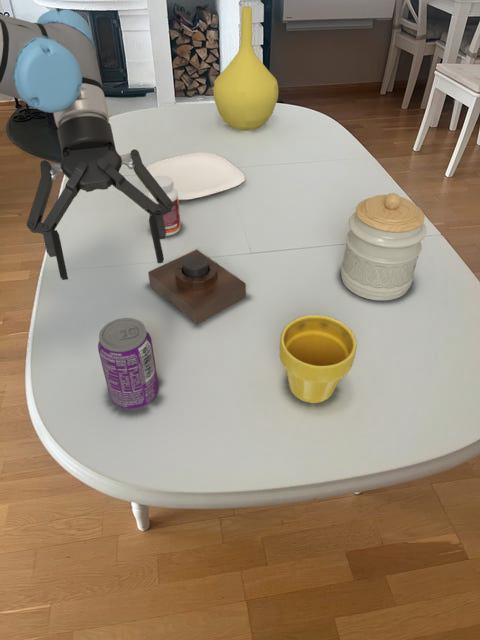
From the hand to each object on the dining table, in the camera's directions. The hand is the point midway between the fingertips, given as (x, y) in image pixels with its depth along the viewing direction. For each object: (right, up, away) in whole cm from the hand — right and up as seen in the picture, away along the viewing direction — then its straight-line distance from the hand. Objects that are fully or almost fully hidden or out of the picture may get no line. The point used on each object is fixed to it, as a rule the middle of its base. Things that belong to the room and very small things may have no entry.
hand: (113, 270), depth 74 cm
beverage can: (+3, -18, +2) cm, 18 cm away
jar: (+43, 0, +23) cm, 49 cm away
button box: (+10, -2, +20) cm, 23 cm away
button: (+10, +1, +17) cm, 20 cm away
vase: (+20, +50, +79) cm, 95 cm away
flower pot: (+29, -17, +3) cm, 34 cm away
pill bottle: (+2, +12, +36) cm, 38 cm away
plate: (+7, +27, +52) cm, 59 cm away
